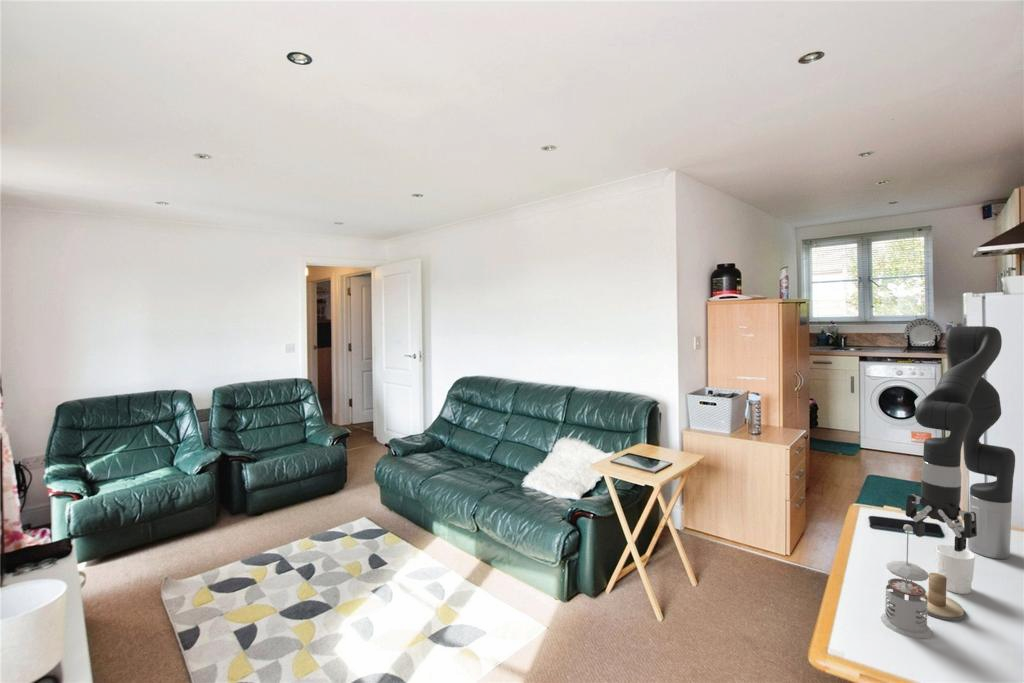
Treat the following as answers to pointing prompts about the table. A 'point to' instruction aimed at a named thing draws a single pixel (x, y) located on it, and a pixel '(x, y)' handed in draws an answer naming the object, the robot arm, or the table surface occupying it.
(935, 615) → the mat
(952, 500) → the robot arm
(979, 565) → the table surface
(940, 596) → the lid
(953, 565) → the white cup
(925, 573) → the french press
